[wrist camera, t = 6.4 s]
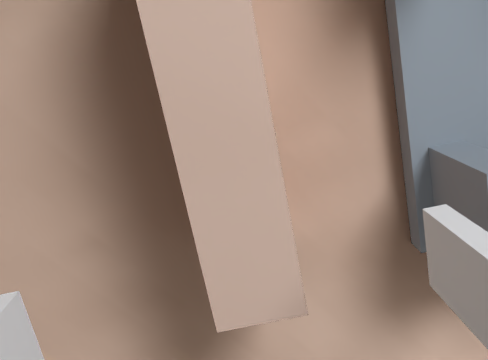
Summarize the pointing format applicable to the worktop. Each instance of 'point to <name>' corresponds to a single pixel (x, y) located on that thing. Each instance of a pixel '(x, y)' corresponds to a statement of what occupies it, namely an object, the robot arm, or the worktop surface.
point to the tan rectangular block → (226, 156)
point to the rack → (441, 105)
